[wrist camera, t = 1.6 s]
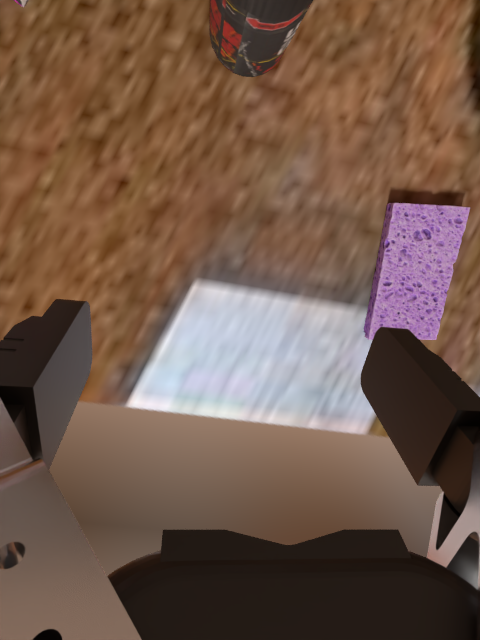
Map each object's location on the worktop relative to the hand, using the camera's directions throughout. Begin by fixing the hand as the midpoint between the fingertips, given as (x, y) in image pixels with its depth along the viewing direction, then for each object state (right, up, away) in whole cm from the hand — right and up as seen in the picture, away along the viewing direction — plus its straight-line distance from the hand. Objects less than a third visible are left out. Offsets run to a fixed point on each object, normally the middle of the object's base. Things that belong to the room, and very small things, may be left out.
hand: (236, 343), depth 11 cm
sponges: (+16, +5, +26) cm, 30 cm away
